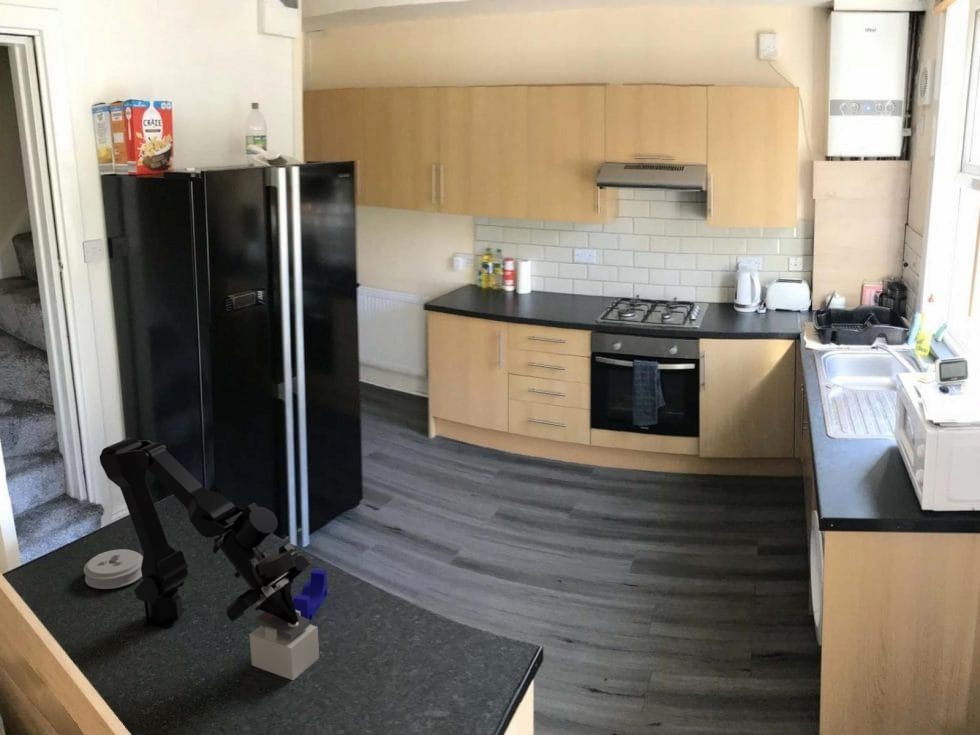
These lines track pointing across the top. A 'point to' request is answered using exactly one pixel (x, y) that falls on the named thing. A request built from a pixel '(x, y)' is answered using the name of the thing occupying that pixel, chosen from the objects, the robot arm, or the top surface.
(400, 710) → the top surface
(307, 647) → the switch box
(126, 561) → the lid
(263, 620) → the rocker
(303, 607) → the blue notched block
